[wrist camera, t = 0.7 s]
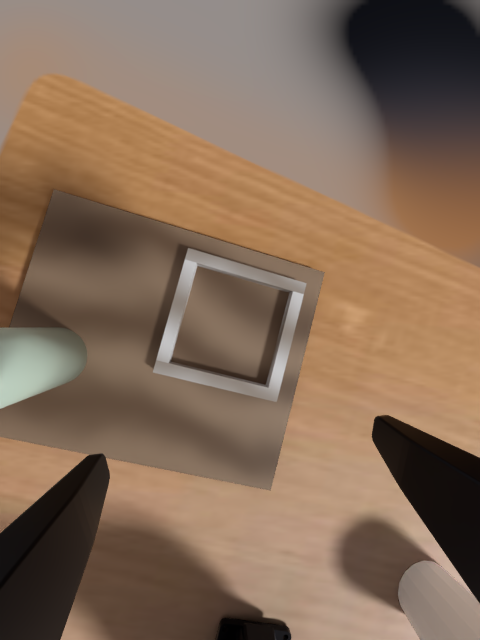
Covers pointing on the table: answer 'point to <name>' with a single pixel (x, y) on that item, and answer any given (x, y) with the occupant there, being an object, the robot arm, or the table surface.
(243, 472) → the board
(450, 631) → the white cup
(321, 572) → the table surface
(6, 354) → the bottle
